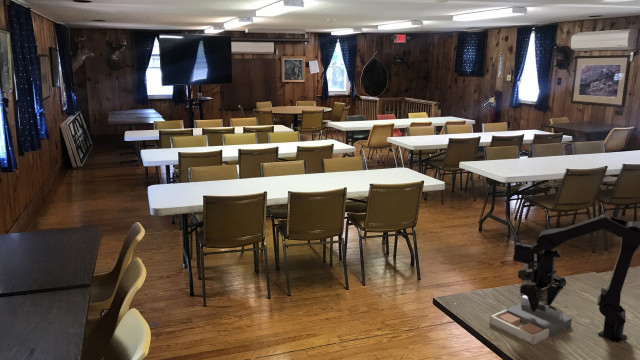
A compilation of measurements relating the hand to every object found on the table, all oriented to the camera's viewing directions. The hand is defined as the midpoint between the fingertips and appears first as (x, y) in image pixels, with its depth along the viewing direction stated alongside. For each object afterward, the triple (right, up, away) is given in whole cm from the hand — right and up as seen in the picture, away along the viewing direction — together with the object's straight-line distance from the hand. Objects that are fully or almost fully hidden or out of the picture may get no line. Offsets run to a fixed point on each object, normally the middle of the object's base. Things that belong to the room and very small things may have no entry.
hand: (541, 307), depth 177 cm
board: (-1, -5, 0) cm, 5 cm away
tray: (-10, -6, -6) cm, 13 cm away
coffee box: (+6, -1, +20) cm, 21 cm away
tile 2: (-8, -6, -9) cm, 13 cm away
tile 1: (-12, -5, -2) cm, 13 cm away
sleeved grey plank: (0, -2, 0) cm, 2 cm away
